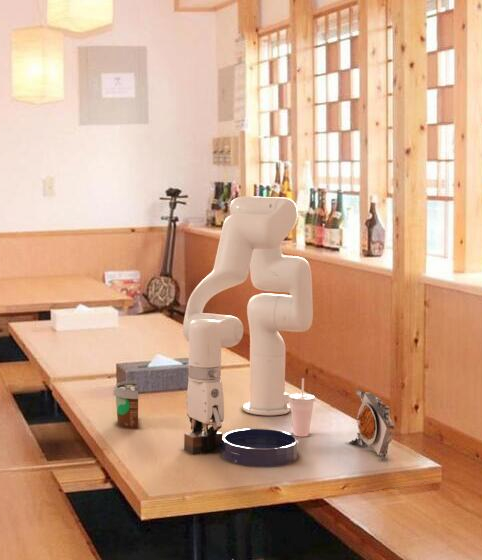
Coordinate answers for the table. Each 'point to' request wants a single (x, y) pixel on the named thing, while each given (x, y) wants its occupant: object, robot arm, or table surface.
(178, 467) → the table surface
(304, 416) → the smoothie
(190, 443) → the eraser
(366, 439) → the meal
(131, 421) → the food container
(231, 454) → the bowl
